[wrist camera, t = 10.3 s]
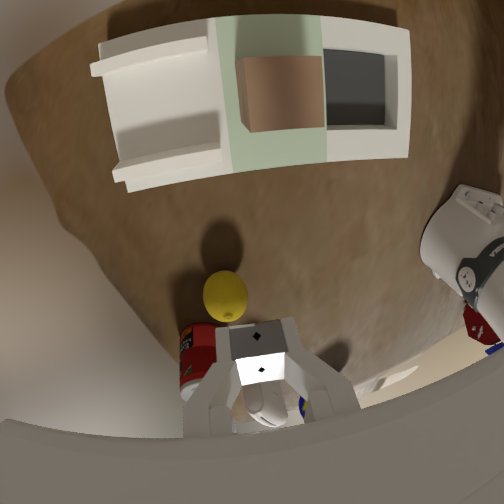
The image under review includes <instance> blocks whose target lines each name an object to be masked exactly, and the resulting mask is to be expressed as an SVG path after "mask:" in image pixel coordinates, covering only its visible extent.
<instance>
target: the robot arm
mask: <svg viewBox="0 0 504 504" xmlns="http://www.w3.org/2000/svg"><path fill="white" fill-rule="evenodd" d="M503 211H504V207H503V206H502V198H501V196H500V195H498V194H496V193H493V192H489V191H486V190H482V189H479V188H475V187H471V186H467V185H464V184H460V185H459V186H458V187H457V188H456V189H455V191H454V192H453V194H452V196H451V197H450V199H449V200H448V201H447V202H446V203H445V204H443V205H442V206H441V207H440V208H439V209H438V210H437V212H436V213H435V214H434V215H433V217H432V218H431V220H430V221H429V223H428V225H427V227H426V229H425V231H424V234H423V237H422V241H421V247H420V254H421V258H422V261H423V262H424V264H425V265H427V266H428V267H430V268H431V269H432V272H433V275H434V276H435V277H436V278H438V279H439V278H442V279H443V280H444V281H445V282H446V283H447V284H448V285H449V286H450V287H452V288H453V289H454V290H455V291H456V292H457V293H458V294H459V295H461V296H463V297H464V299H465V300H466V301H467V302H468V304H469V306H470V307H471V308H473V309H474V310H475V311H476V312H480V313H481V315H482V316H483V317H484V319H485V320H486V321H487V322H488V324H489V325H490V326H491V328H492V329H493V330H494V332H495V333H496V334H497V336H498V337H499V338H500V340H501V341H502V342H503V343H504V212H503ZM215 336H216V355H217V363H213V364H212V366H211V367H210V369H209V370H208V372H207V373H206V375H205V376H204V378H203V379H202V381H201V382H200V384H199V385H198V387H197V388H196V389H195V391H194V392H193V394H192V395H191V397H190V398H189V400H188V401H187V403H186V404H185V406H184V407H183V432H184V433H183V438H168V439H167V438H164V439H163V438H162V439H161V438H155V439H154V438H128V437H112V436H102V435H92V434H84V433H76V432H70V431H63V430H57V429H52V428H47V427H42V426H37V425H32V424H28V423H24V422H20V421H16V420H12V419H5V420H4V421H2V422H1V423H0V504H504V347H502V348H501V349H499V350H497V351H496V352H494V353H492V354H490V355H489V356H487V357H485V358H483V359H482V360H480V361H478V362H476V363H474V364H472V365H470V366H468V367H466V368H464V369H462V370H460V371H458V372H456V373H454V374H452V375H450V376H448V377H445V378H443V379H441V380H439V381H436V382H434V383H432V384H430V385H427V386H425V387H423V388H420V389H418V390H415V391H413V392H410V393H407V394H405V395H402V396H399V397H397V398H394V399H391V400H388V401H386V402H382V403H380V404H377V405H373V406H370V407H367V408H364V409H361V408H360V405H359V403H358V400H357V397H356V394H355V392H354V389H353V386H352V384H351V381H350V380H348V379H347V378H345V377H344V376H343V375H341V374H340V373H339V372H337V371H336V370H335V369H333V368H332V367H331V366H329V365H328V364H327V363H325V362H324V361H323V360H321V359H320V358H319V357H317V356H316V355H315V354H313V353H312V352H311V351H309V350H308V349H303V347H302V343H301V340H300V337H299V334H298V331H297V327H296V324H295V321H294V318H293V317H289V318H283V319H280V320H279V319H276V320H270V321H264V322H258V323H254V324H246V325H237V326H229V327H220V328H216V330H215ZM279 379H284V380H285V381H286V382H287V383H288V384H289V385H290V386H291V387H292V388H293V389H294V390H295V391H296V392H297V393H299V394H300V395H301V396H302V397H303V398H304V399H305V400H306V401H307V406H306V411H305V416H304V423H305V424H300V425H295V426H290V427H284V428H279V429H273V430H267V431H260V432H252V433H244V434H238V430H237V428H236V425H235V422H234V420H233V417H232V414H231V411H230V410H231V408H232V406H233V404H234V402H235V400H236V398H237V396H238V394H239V392H240V390H241V388H242V385H247V384H253V383H258V382H265V381H272V380H279Z"/></svg>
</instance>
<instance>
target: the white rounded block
mask: <svg viewBox="0 0 504 504" xmlns="http://www.w3.org/2000/svg"><path fill="white" fill-rule="evenodd" d="M242 389H243V395H244V400H245V406H246V409H247V411H248V413H249V414H250V415H251V416H252V417H253V418H254V419H255V420H257V421H258V422H260V423H262V424H264V425H266V426H270V427H277V426H280V425H283V424H285V422H286V421H287V418H288V414H287V410H286V406H285V402H284V399H283V395H282V391H281V388H280V384H279V380H272V381H265V382H258V383H253V384H247V385H242Z"/></svg>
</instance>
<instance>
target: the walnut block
mask: <svg viewBox="0 0 504 504" xmlns="http://www.w3.org/2000/svg"><path fill="white" fill-rule="evenodd" d="M235 70H236V80H237V89H238V99H239V108H240V117H241V122H242V123H243V125H244V126H245V127H246V128H247V129H248V130H249V132H250V133H256V132H265V131H276V130H287V129H301V128H319V127H325V119H324V90H323V70H322V56H262V57H247V58H242V59H240V60H238V61H236V62H235Z"/></svg>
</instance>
